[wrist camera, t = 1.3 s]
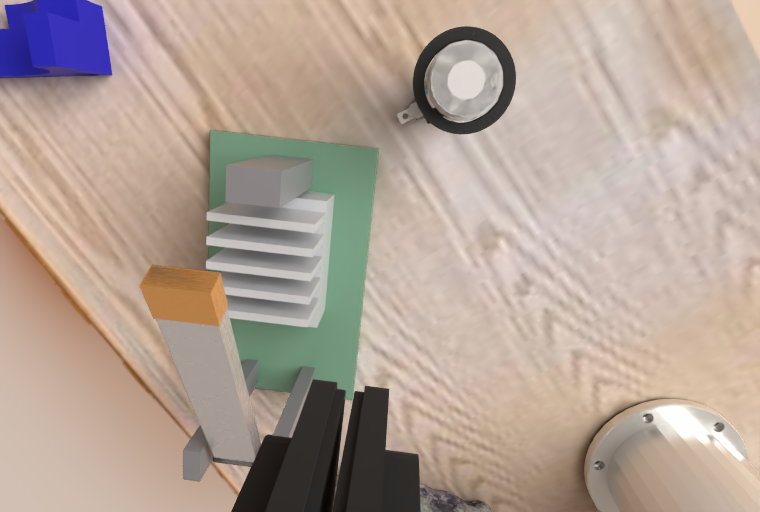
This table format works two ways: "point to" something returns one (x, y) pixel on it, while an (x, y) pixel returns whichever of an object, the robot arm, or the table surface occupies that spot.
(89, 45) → the blue cradle bracket
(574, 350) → the table surface
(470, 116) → the push button
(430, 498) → the mineral rock
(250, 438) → the hinged grey bar
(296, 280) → the board
